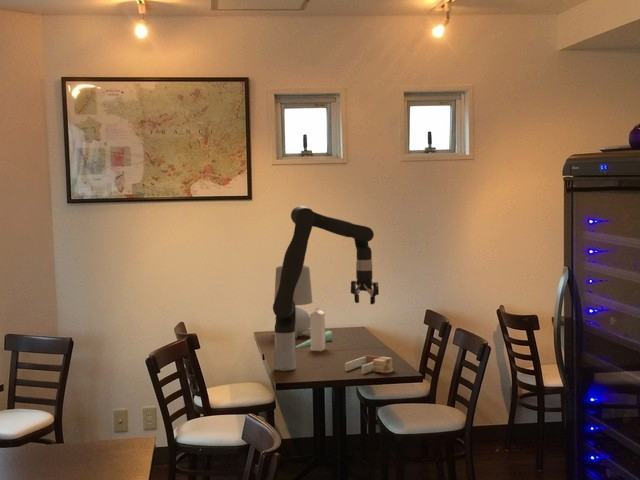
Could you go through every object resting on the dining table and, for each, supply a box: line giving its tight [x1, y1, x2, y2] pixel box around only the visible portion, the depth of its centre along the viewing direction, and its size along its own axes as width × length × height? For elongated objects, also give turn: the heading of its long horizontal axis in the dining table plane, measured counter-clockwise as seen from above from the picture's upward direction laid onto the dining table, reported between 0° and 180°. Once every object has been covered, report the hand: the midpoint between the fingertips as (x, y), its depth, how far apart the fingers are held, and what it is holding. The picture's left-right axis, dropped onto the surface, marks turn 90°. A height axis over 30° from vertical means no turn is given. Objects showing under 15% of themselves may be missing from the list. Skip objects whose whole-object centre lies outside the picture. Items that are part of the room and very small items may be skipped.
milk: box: [309, 306, 326, 352], centre depth 360 cm, size 6×6×22 cm
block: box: [373, 356, 393, 374], centre depth 314 cm, size 8×5×5 cm, turn 144°
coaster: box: [380, 368, 394, 374], centre depth 315 cm, size 8×8×1 cm
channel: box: [344, 354, 381, 375], centre depth 320 cm, size 17×10×4 cm, turn 142°
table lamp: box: [273, 264, 313, 338], centre depth 397 cm, size 23×22×40 cm
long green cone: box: [295, 330, 334, 349], centre depth 375 cm, size 5×6×27 cm
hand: (364, 303), depth 329 cm, fingers open, 8 cm apart
